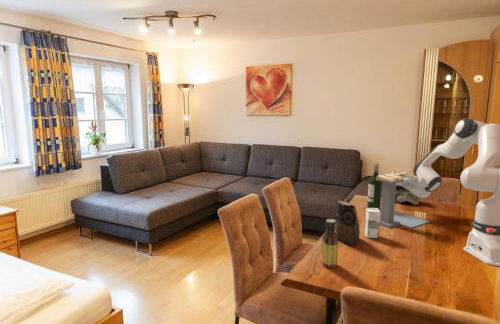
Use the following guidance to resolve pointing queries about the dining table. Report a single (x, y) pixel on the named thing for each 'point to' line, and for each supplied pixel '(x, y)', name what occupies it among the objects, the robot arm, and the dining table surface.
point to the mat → (408, 220)
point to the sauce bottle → (330, 245)
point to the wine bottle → (374, 190)
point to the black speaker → (347, 223)
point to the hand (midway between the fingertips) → (401, 174)
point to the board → (393, 176)
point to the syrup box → (372, 222)
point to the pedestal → (388, 204)
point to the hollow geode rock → (405, 195)
